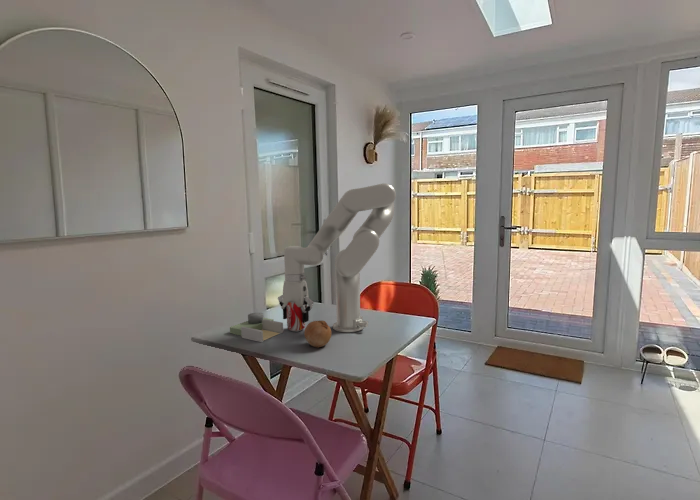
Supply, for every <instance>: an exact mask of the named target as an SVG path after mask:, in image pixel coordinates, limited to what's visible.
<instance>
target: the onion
mask: <svg viewBox="0 0 700 500" xmlns="http://www.w3.org/2000/svg"><path fill="white" fill-rule="evenodd" d="M303 335H304V339H305V340H306V342H307V343H308V344H309V345H310V346H312V347H313V348H321V347H325V346H326V345H328V344H329V342H330V340H331V338H332V329H331V327H330V326H329V325H328V323H327V322H326V321H325V320H313V321H310V322H309V323H307V325H306V326H305V328H304V334H303Z"/></svg>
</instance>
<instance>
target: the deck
mask: <svg viewBox="0 0 700 500" xmlns="http://www.w3.org/2000/svg"><path fill="white" fill-rule="evenodd" d="M283 333H284V322H281V321H276V320H274V319H272V318H268V317H264V313H262V312H250V313H248V314H247V320H246V321H244V322H241V323H238V324H235V325H231V326H229V334H233V335H236V336H241V339H245V340H251V341H255V342H258V343H259V342H260V343H263V342H264V341H266V340H268V339H271V338H273V337H275V336H277V335H280V334H283Z"/></svg>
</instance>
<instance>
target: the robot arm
mask: <svg viewBox="0 0 700 500" xmlns="http://www.w3.org/2000/svg"><path fill="white" fill-rule="evenodd" d="M396 194H397V193H396V189H395V188H394V186H393V185H391V184H389V183H384V182H383V183H379V184H378V183H377V184H374V185H370V186H369V185H368V186H364V187H363V186H362V187H358V188H351V189H349V190H347V191H345V192H344V194H343V195H342V196H341V198H340V199H339V200H338V202H337V203H336V204H335V206H334V208H332V210H331V212H330V213H329V214H328V215H327V217H326V219H324V221H323V223H322V225H321V226H320V228H319V230H318V231H317V232H316V234H315V235H314V236H313V238H312V240H311V241H310V242H309V244H308V245H307V247H303V246H301V245H289V246H286V247H285V248H284V250H283V252H284V253H283V257H284V260H283V261H284V281H283V286H282V294H281V295H279V296H278V297H277V300H278V304H279V305H280V307H281V309H282V319H283V320H287V304H288V301H290V302H295V304H296V305H297V306H298V307H301V309H302V311H303V313H302V322H303V323H305V324H306V323H307V322H309V321H310V320H309V318H310V317H309V314H310V313H309V312H310V311H311V309H312V308H313V306H314V303H315V302H314V301H313V300H312V299H311V298H310V297H309V289H308V284H307V281H306V279H307V276H306V275H305V266H317V265H320V264H321V263H322V261H323V259H324V255H325V254H326V253H327V251H328V250H329V248H330V247H331V246H332V244H333V243H334V242H335V241H336V240H337V239H338V238H339V237H341V236H342V234H343V233H345V231H346V229H347V228H348V227H349V225H350V224H351V222H352V221H353V220H354V218H355V217H356V216H357V215H358V213H359V212H365V211H369V210H371V212H370V214H369V215H368V216H367V218H366V220H364V222H362V225H361V226H360V227H359V228H358V229H357V230H356V231H355V232H354V234H353V235H352V240H351V242H349V243H348V245H347V247H345V249H341V250H340V251H338V253H337V254H336V256H335V260H334V266H335V267H334V268H335V269H334V270H335V271H334V272H335V303H336V304H335V306H336V309H335V310H336V316H335V317H336V322H335V323H333V324H332V329H333V330H335V331H337V332H339V333H355V332H359V331H362V330H364V328H368V327H369V321H368V320H364V319H363V316H362V315H361V277H360V276H361V275H360V273H361V271H362V270H363V269H364V268H365V266H367V264H368V263H369V261H370V259H372V258H373V256H374V255H375V253H376V252H377V250H378V248H379V246H380V239H381V237H382V236H383V234H384V233H385V231H386V230H387V229H388V227H389V225H390V224H391V222H392V221H393V219H394V215H395V200H396V197H397V195H396ZM304 307H305V308H304Z"/></svg>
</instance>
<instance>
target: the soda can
mask: <svg viewBox="0 0 700 500" xmlns="http://www.w3.org/2000/svg"><path fill="white" fill-rule="evenodd" d="M304 308H305V307H304ZM302 313H303V311H302V309H301V307H298V306H297V305H296V304H295V302H290V301H288V304H287V319H286V323H287V324H286V325H287V330H289V331H290V332H293V333H294V332H297V333H298V332H301V331H303V330H305V328H306V326H305V325H306V322H305V323H303V322H302Z"/></svg>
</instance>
